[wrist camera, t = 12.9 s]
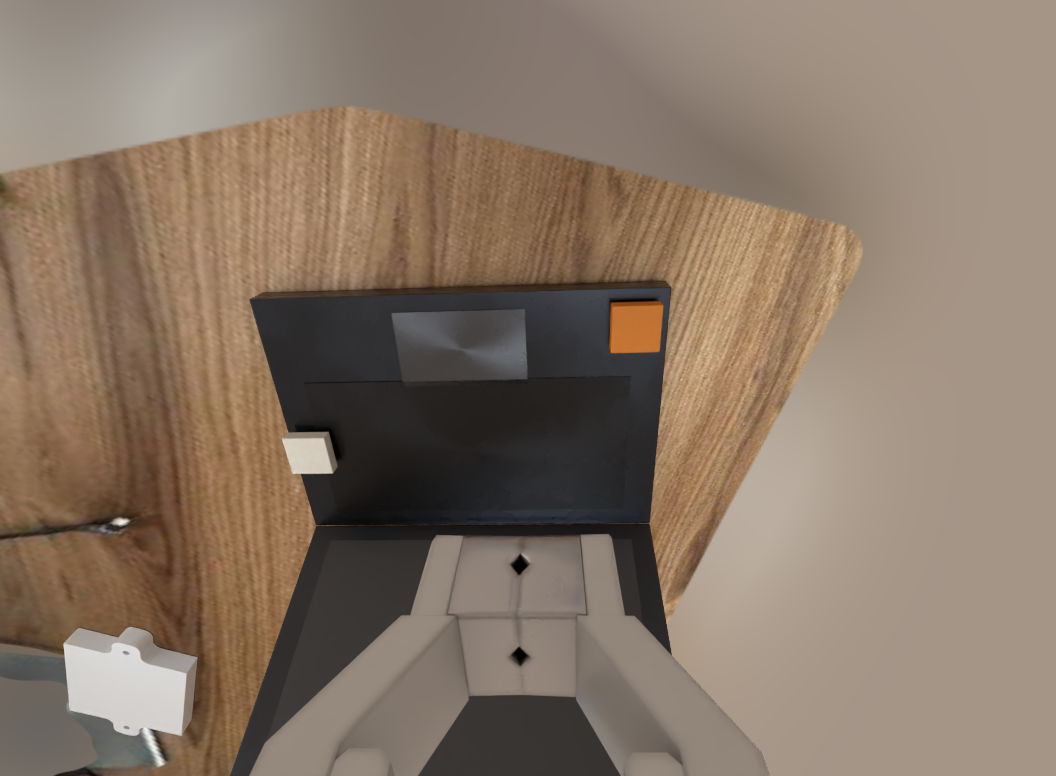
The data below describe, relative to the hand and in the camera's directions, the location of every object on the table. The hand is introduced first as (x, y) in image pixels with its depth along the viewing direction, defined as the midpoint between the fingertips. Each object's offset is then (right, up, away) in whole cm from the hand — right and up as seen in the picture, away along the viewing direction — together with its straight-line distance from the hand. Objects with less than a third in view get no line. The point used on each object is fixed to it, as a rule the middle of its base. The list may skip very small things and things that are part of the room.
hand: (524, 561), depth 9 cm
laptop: (-5, +1, +32) cm, 32 cm away
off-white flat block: (-18, -2, +32) cm, 36 cm away
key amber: (+8, +8, +26) cm, 28 cm away
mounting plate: (-46, -31, +50) cm, 75 cm away
